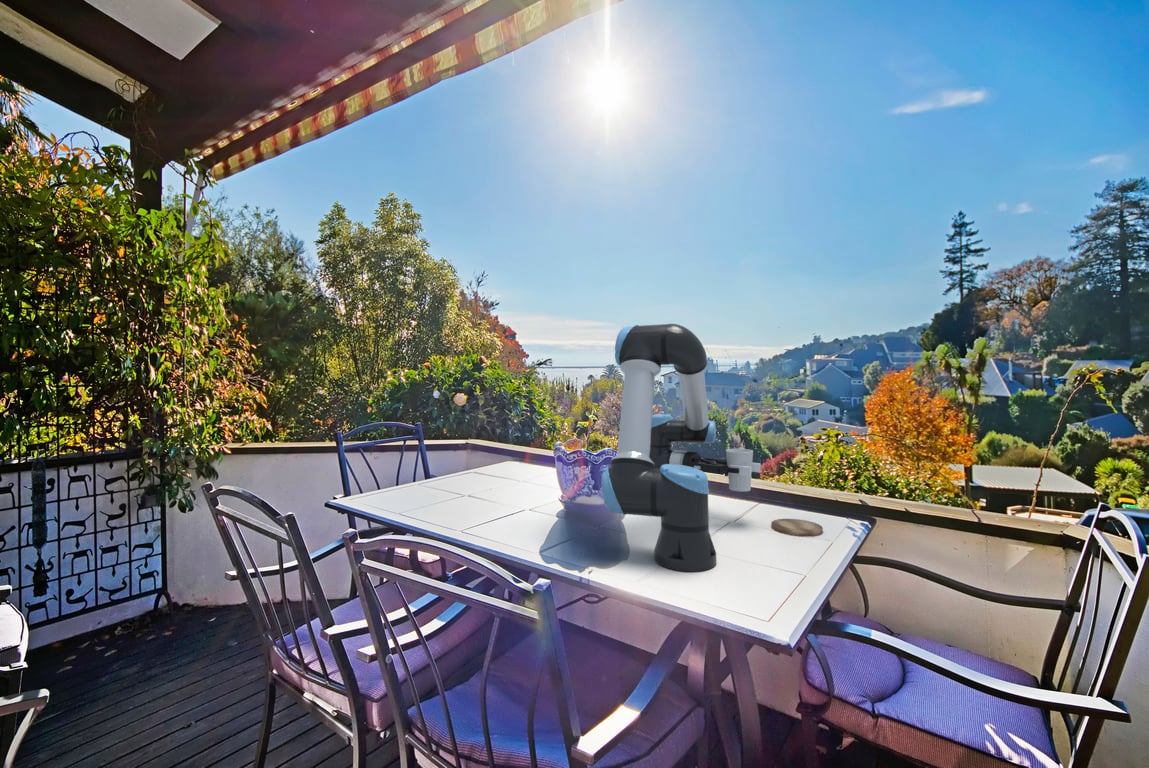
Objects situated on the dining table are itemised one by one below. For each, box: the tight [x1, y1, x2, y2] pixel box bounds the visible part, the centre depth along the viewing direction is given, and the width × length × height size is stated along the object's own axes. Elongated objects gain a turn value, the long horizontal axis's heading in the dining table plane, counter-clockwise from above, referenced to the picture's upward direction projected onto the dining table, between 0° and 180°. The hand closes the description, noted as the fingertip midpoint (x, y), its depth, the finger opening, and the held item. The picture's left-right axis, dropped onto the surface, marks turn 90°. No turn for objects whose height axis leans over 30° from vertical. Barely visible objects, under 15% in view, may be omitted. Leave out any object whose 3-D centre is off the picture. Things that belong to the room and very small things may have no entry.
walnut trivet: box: [771, 518, 824, 537], centre depth 146 cm, size 14×14×1 cm
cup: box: [725, 448, 754, 493], centre depth 150 cm, size 8×8×12 cm
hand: (755, 469), depth 147 cm, fingers closed on cup, 7 cm apart
